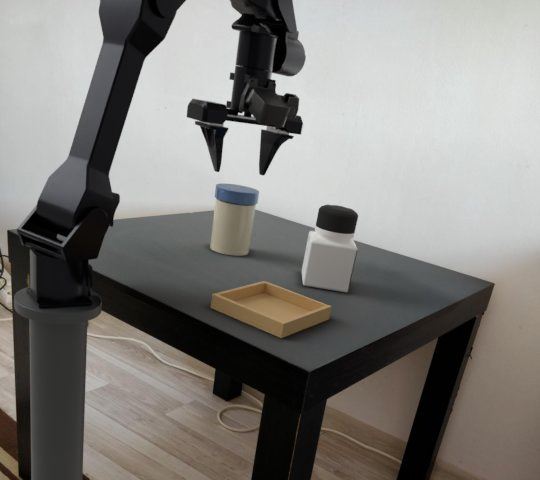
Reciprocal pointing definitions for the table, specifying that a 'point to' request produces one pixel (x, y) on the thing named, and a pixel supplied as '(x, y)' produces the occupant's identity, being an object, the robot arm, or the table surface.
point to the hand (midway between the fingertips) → (239, 173)
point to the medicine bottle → (331, 249)
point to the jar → (232, 228)
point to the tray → (271, 308)
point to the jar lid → (236, 194)
